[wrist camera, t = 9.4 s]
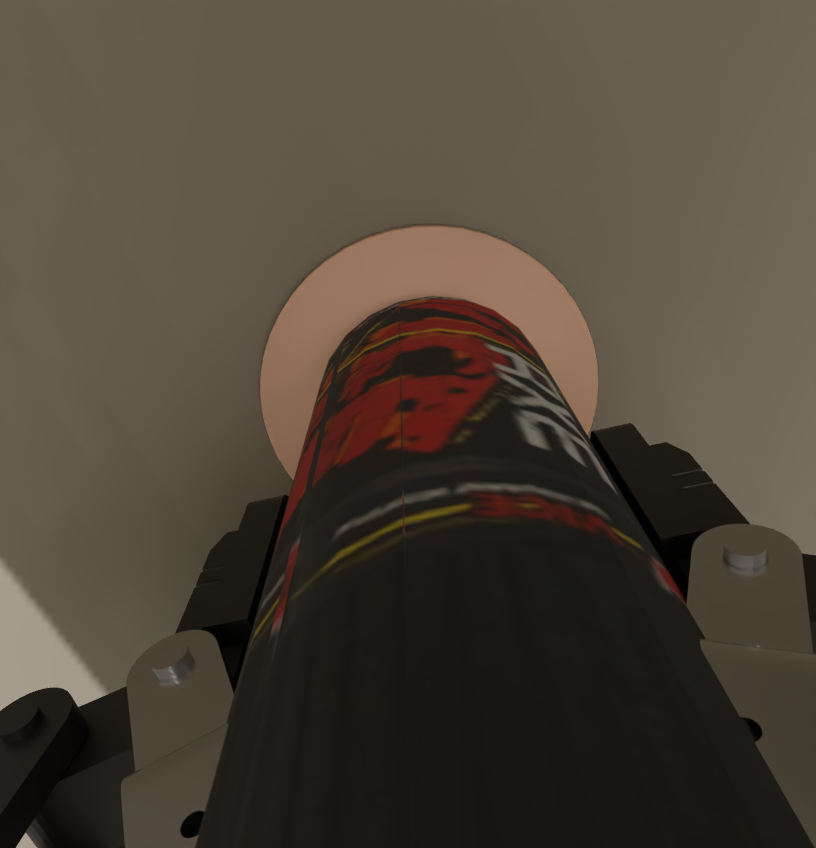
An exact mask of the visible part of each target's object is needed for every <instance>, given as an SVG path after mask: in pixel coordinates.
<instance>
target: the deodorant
mask: <svg viewBox="0 0 816 848" xmlns="http://www.w3.org/2000/svg"><path fill="white" fill-rule="evenodd" d="M686 604H687V601H686V599H685V597H684V596H683V594H682V592H681V591H680V589H679V587H678V586H677V584H676V582H675V581H674V579H673V577H672V576H671V574H670V572H669V571H668V569H667V567H666V566H665V564H664V562H663V561H662V559H661V557H660V556H659V554H658V552H657V551H656V549H655V547H654V546H653V544H652V542H651V541H650V539H649V537H648V536H647V534H646V532H645V531H644V529H643V527H642V526H641V524H640V522H639V521H638V519H637V517H636V516H635V514H634V512H633V511H632V509H631V507H630V506H629V504H628V502H627V501H626V499H625V497H624V496H623V494H622V492H621V491H620V489H619V487H618V486H617V484H616V482H615V481H614V479H613V477H612V476H611V474H610V472H609V471H608V469H607V467H606V466H605V464H604V462H603V461H602V459H601V457H600V456H599V454H598V452H597V451H596V449H595V447H594V446H593V444H592V442H591V441H590V439H589V437H588V436H587V434H586V432H585V431H584V429H583V427H582V426H581V424H580V422H579V421H578V419H577V417H576V416H575V414H574V412H573V410H572V409H571V407H570V405H569V404H568V402H567V400H566V399H565V397H564V395H563V394H562V392H561V390H560V389H559V387H558V385H557V384H556V382H555V380H554V379H553V377H552V375H551V374H550V372H549V370H548V369H547V367H546V365H545V364H544V362H543V360H542V359H541V357H540V355H539V354H538V352H537V351H536V349H535V348H534V347H533V345H532V344H531V343H530V342H529V340H528V339H527V338H526V336H525V335H524V334H523V333H522V331H521V330H520V329H519V328H518V327H517V326H516V325H514V324H513V323H511V322H510V321H509V320H507V319H506V318H504V317H503V316H502V315H500V314H499V313H498V312H496V311H495V310H493V309H490V308H488V307H485V306H482V305H479V304H477V303H474V302H471V301H468V300H466V299H460V298H449V297H437V296H428V297H423V298H417V299H411V300H406V301H400V302H397V303H395V304H393V305H391V306H389V307H386V308H384V309H382V310H380V311H378V312H376V313H374V314H371V315H370V316H368V317H367V318H366V319H365V320H364V321H362V322H361V323H360V324H359V325H358V326H356V327H355V328H354V329H353V330H351V331H350V332H349V333H348V334H347V335H346V336H345V337H344V339H343V340H342V341H341V343H340V344H339V346H338V347H337V349H336V350H335V352H334V353H333V354H332V356H331V357H330V359H329V360H328V363H327V366H326V369H325V372H324V375H323V378H322V381H321V384H320V387H319V391H318V394H317V398H316V401H315V405H314V409H313V412H312V416H311V419H310V423H309V427H308V430H307V434H306V437H305V441H304V445H303V448H302V452H301V455H300V459H299V463H298V466H297V470H296V474H295V477H294V481H293V484H292V488H291V492H290V495H289V499H288V502H287V506H286V510H285V513H284V517H283V520H282V524H281V528H280V531H279V535H278V538H277V542H276V546H275V549H274V553H273V556H272V560H271V564H270V567H269V571H268V574H267V578H266V582H265V585H264V589H263V593H262V596H261V600H260V603H259V607H258V611H257V614H256V618H255V621H254V625H253V629H252V632H251V636H250V639H249V643H248V647H247V650H246V654H245V657H244V661H243V665H242V668H241V672H240V675H239V679H238V683H237V686H236V690H235V693H234V697H233V701H232V704H231V708H230V711H229V715H228V719H227V722H226V723H228V728H227V732H226V736H225V739H224V743H223V747H222V750H221V754H220V758H219V761H218V765H217V769H216V772H215V776H214V780H213V783H212V787H211V791H210V794H209V798H208V802H207V805H206V809H205V812H204V815H203V817H202V820H201V823H200V826H199V829H198V832H197V835H198V834H199V835H198V838H197V842H196V846H195V848H815V847H814V846H813V844H812V842H811V840H810V839H809V837H808V835H807V833H806V832H805V830H804V828H803V826H802V825H801V823H800V821H799V819H798V818H797V816H796V814H795V812H794V811H793V809H792V807H791V805H790V804H789V802H788V800H787V798H786V797H785V795H784V793H783V791H782V790H781V788H780V786H779V784H778V783H777V781H776V779H775V777H774V776H773V774H772V772H771V770H770V769H769V767H768V765H767V763H766V762H765V760H764V758H763V756H762V755H761V753H760V751H759V749H758V748H757V746H756V744H755V742H756V741H758V740H759V738H758V737H757V735H756V734H755V732H754V731H753V729H752V728H751V727H750V725H749V724H748V723H747V722H746V721H745V720H743V719H742V718H741V717H740V716H739V714H738V713H737V711H736V709H735V707H734V706H733V704H732V702H731V700H730V699H729V697H728V695H727V693H726V692H725V690H724V688H723V686H722V685H721V683H720V681H719V679H718V678H717V676H716V674H715V672H714V671H713V669H712V667H711V666H710V664H709V662H708V660H707V659H706V657H705V655H704V653H703V651H702V649H701V646H700V639H706V638H705V637H704V635H703V633H702V632H701V630H700V628H699V626H698V625H697V623H696V621H695V620H694V618H693V616H692V615H691V613H690V611H689V610H688V608H687V606H686ZM197 835H196V836H197Z"/></svg>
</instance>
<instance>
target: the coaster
mask: <svg viewBox="0 0 816 848" xmlns="http://www.w3.org/2000/svg"><path fill="white" fill-rule="evenodd" d="M428 296H437V297H449V298H460V299H466V300H468V301H471V302H474V303H477V304H479V305H482V306H485V307H488V308H490V309H493V310H495V311H496V312H498V313H499V314H500V315H502V316H503V317H504V318H506V319H507V320H509V321H510V322H511V323H513V324H514V325H516V326H517V327H518V328H519V329H520V330H521V331H522V333H523V334H524V335H525V336H526V338H527V339H528V340H529V342H530V343H531V344H532V345H533V347H534V348H535V349H536V351H537V352H538V354H539V355H540V357H541V359H542V360H543V362H544V364H545V365H546V367H547V369H548V370H549V372H550V374H551V375H552V377H553V379H554V380H555V382H556V384H557V385H558V387H559V389H560V390H561V392H562V394H563V395H564V397H565V399H566V400H567V402H568V404H569V405H570V407H571V409H572V410H573V412H574V414H575V416H576V417H577V419H578V421H579V422H580V424H581V426H582V427H583V429H584V431H585V432H586V434H587V436H588V434H589V431H590V428H591V426H592V422H593V418H594V414H595V409H596V405H597V395H598V364H597V359H596V354H595V349H594V344H593V341H592V338H591V335H590V332H589V329H588V326H587V323H586V322H585V320H584V318H583V316H582V314H581V312H580V310H579V308H578V306H577V304H576V303H575V301H574V300H573V299H572V297H571V296H570V295H569V293H568V292H567V290H566V289H565V288H564V286H563V285H562V284H561V283H560V282H559V281H558V280H557V279H556V278H555V277H554V276H553V275H552V274H551V273H550V272H549V271H548V270H547V269H546V268H545V267H544V266H543V265H542V264H541V263H539V262H538V261H537V260H535V259H534V258H533V257H532V256H530V255H529V254H528V253H526V252H525V251H523V250H522V249H520V248H518V247H516V246H514V245H513V244H511V243H509V242H507V241H506V240H503V239H501V238H498V237H496V236H493V235H491V234H488V233H486V232H482V231H478V230H474V229H470V228H466V227H462V226H453V225H443V224H420V225H409V226H403V227H397V228H391V229H388V230H384V231H381V232H378V233H375V234H372V235H369V236H366V237H364V238H362V239H360V240H358V241H355V242H353V243H351V244H349V245H347V246H345V247H344V248H342V249H341V250H339V251H337V252H336V253H334V254H333V255H331V256H330V257H328V258H327V259H326V260H324V261H323V262H322V263H321V264H320V265H319V266H317V267H316V268H315V269H314V270H313V271H312V272H311V273H309V275H308V276H307V277H306V278H305V279H304V280H303V281H302V283H301V284H300V285H299V286H298V287H297V288H296V289H295V291H294V292H293V294H292V295H291V297H290V298H289V300H288V301H287V303H286V304H285V306H284V308H283V309H282V311H281V313H280V314H279V316H278V318H277V321H276V323H275V325H274V327H273V329H272V331H271V333H270V336H269V339H268V343H267V346H266V349H265V353H264V356H263V363H262V369H261V376H260V398H261V406H262V413H263V419H264V422H265V426H266V430H267V433H268V437H269V439H270V441H271V444H272V446H273V448H274V450H275V453H276V455H277V457H278V458H279V460H280V462H281V463H282V465H283V467H284V468H285V470H286V472H287V473H288V474H289V475H290V477H291V478H292V479H293V480H294V477H295V474H296V470H297V466H298V463H299V459H300V455H301V452H302V448H303V445H304V441H305V437H306V434H307V430H308V427H309V423H310V419H311V416H312V412H313V409H314V405H315V401H316V398H317V394H318V391H319V387H320V384H321V381H322V378H323V375H324V372H325V369H326V366H327V363H328V360H329V359H330V357H331V356H332V354H333V353H334V352H335V350H336V349H337V347H338V346H339V344H340V343H341V341H342V340H343V339H344V337H345V336H346V335H347V334H348V333H349V332H350V331H351V330H353V329H354V328H355V327H356V326H358V325H359V324H360V323H361V322H362V321H364V320H365V319H366V318H367V317H368V316H370V315H371V314H374V313H376V312H378V311H380V310H382V309H384V308H386V307H389V306H391V305H393V304H395V303H397V302H400V301H406V300H411V299H417V298H423V297H428Z"/></svg>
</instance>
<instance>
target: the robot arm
mask: <svg viewBox="0 0 816 848" xmlns="http://www.w3.org/2000/svg"><path fill="white" fill-rule="evenodd" d="M590 440H591V442H592V444H593V446H594V447H595V449H596V451H597V452H598V454H599V456H600V457H601V459H602V461H603V462H604V464H605V466H606V467H607V469H608V471H609V472H610V474H611V476H612V477H613V479H614V481H615V482H616V484H617V486H618V487H619V489H620V491H621V492H622V494H623V496H624V497H625V499H626V501H627V502H628V504H629V506H630V507H631V509H632V511H633V512H634V514H635V516H636V517H637V519H638V521H639V522H640V524H641V526H642V527H643V529H644V531H645V532H646V534H647V536H648V537H649V539H650V541H651V542H652V544H653V546H654V547H655V549H656V551H657V552H658V554H659V556H660V557H661V559H662V561H663V562H664V564H665V566H666V567H667V569H668V571H669V572H670V574H671V576H672V577H673V579H674V581H675V582H676V584H677V586H678V587H679V589H680V591H681V592H682V594H683V596H684V597H685V599H686V601H687V604H686V606H687V608H688V610H689V611H690V613H691V615H692V616H693V618H694V620H695V621H696V623H697V625H698V626H699V628H700V630H701V632H702V633H703V635H704V637H705V638H706V639H700V646H701V649H702V651H703V653H704V655H705V657H706V659H707V660H708V662H709V664H710V666H711V667H712V669H713V671H714V672H715V674H716V676H717V678H718V679H719V681H720V683H721V685H722V686H723V688H724V690H725V692H726V693H727V695H728V697H729V699H730V700H731V702H732V704H733V706H734V707H735V709H736V711H737V713H738V714H739V716H740V717H741V718H742V719H743V720H745V721H746V722H747V723H748V724H749V725H750V727H751V728H752V729H753V731H754V732H755V734H756V735H757V737H758V738H759V740H758V741H756V742H755V744H756V746H757V748H758V749H759V751H760V753H761V755H762V756H763V758H764V760H765V762H766V763H767V765H768V767H769V769H770V770H771V772H772V774H773V776H774V777H775V779H776V781H777V783H778V784H779V786H780V788H781V790H782V791H783V793H784V795H785V797H786V798H787V800H788V802H789V804H790V805H791V807H792V809H793V811H794V812H795V814H796V816H797V818H798V819H799V821H800V823H801V825H802V826H803V828H804V830H805V832H806V833H807V835H808V837H809V839H810V840H811V842H812V844H813V846H814V847H815V848H816V556H815V555H808V554H803V553H801V551H800V549H799V547H798V546H797V544H796V543H795V542H794V541H793V540H791V539H790V538H789V537H787V536H786V535H784V534H782V533H780V532H778V531H776V530H773V529H770V528H767V527H764V526H759V525H752V524H750V523H749V522H748V521H747V520H746V519H745V517H744V516H743V515H742V514H741V513H740V512H739V511H738V509H737V508H736V507H735V506H734V505H733V504H732V502H731V501H730V500H729V499H728V498H727V497H726V495H725V494H724V493H723V492H722V491H721V490H720V489H719V487H718V486H717V485H716V484H713V480H712V479H711V478H710V477H709V476H708V475H707V474H706V472H705V471H702V468H701V467H700V465H699V464H698V463H697V462H696V461H695V460H694V458H693V457H692V456H691V455H690V454H689V453H688V452H686V451H683V450H681V449H679V448H677V447H675V446H673V445H671V444H669V443H666V442H665V443H660V444H655V445H651V446H649V445H648V444H647V442H646V441H645V440H644V438H643V437H642V436H641V434H640V433H639V432H638V431H637V429H636V428H635V427H634V425H633V424H631V423H629V424H624V425H619V426H614V427H610V428H605V429H600V430H595V431H592V432H591V435H590ZM288 499H289V497H288V496H287V495H284V496H279V497H274V498H270V499H265V500H260V501H255V502H251V503H249V504H248V506H247V508H246V511H245V513H244V516H243V519H242V521H241V524H240V526H239V529H238V531H233V532H228V533H227V534H226V535H225V536H224V537H223V538H222V539H221V540H220V541H219V542H218V543H217V544H216V545H215V546H214V547H213V548H212V549H211V551H210V553H209V555H208V557H207V560H206V562H205V565H204V567H203V572H202V573H201V574H200V576H199V579H198V581H197V583H196V585H197V588H194V591H193V593H192V595H191V598H190V600H189V602H188V605H187V607H186V609H185V612H184V614H183V617H182V619H181V621H180V624H179V626H178V628H177V631H176V633H175V634H173V635H171V636H169V637H166V638H165V639H163V640H161V641H159V642H158V643H156V644H154V645H153V646H152V647H150V648H149V649H148V650H147V651H145V652H144V653H143V654H142V655H141V656H140V657H139V658H138V660H137V661H136V662H135V663H134V665H133V666H132V668H131V670H130V672H129V674H128V677H127V686H126V687H124V688H121V689H119V690H117V691H115V692H113V693H110V694H108V695H106V696H103V697H101V698H99V699H97V700H94V701H92V702H89V703H87V704H85V705H82V706H80V707H78V706H77V705H76V703H75V701H74V700H73V698H72V696H71V695H70V694H69V692H68V691H66V690H64V689H61V688H46V689H41V690H38V691H35V692H32V693H29V694H27V695H25V696H23V697H21V698H19V699H18V700H16V701H14V702H12V703H11V704H9V705H8V706H6V707H5V708H4V709H2V710H1V711H0V848H16V846H17V845H18V843H19V842H20V840H21V838H22V837H23V835H24V834H25V832H26V833H27V834H28V836H29V837H30V839H31V840H32V841H33V843H34V844H35V845H36V847H37V848H195V846H196V842H197V838H198V835H199V834H198V835H197V832H198V829H199V826H200V823H201V820H202V817H203V815H204V812H205V809H206V805H207V802H208V798H209V794H210V791H211V787H212V783H213V780H214V776H215V772H216V769H217V765H218V761H219V758H220V754H221V750H222V747H223V743H224V739H225V736H226V732H227V728H228V723H226V722H227V719H228V715H229V711H230V708H231V704H232V701H233V697H234V693H235V690H236V686H237V683H238V679H239V675H240V672H241V668H242V665H243V661H244V657H245V654H246V650H247V647H248V643H249V639H250V636H251V632H252V629H253V625H254V621H255V618H256V614H257V611H258V607H259V603H260V600H261V596H262V593H263V589H264V585H265V582H266V578H267V574H268V571H269V567H270V564H271V560H272V556H273V553H274V549H275V546H276V542H277V538H278V535H279V531H280V528H281V524H282V520H283V517H284V513H285V510H286V506H287V502H288ZM196 835H197V836H196Z"/></svg>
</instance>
